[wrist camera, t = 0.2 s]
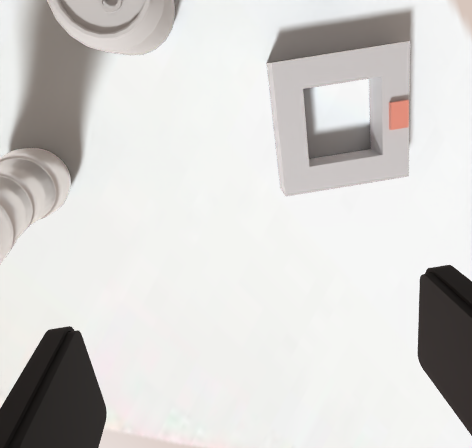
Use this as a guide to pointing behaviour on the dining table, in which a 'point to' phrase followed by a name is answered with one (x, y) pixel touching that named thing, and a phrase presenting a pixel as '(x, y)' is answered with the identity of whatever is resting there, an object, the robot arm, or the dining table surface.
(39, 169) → the plastic bottle
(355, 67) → the socket plate
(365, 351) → the dining table surface
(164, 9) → the can
